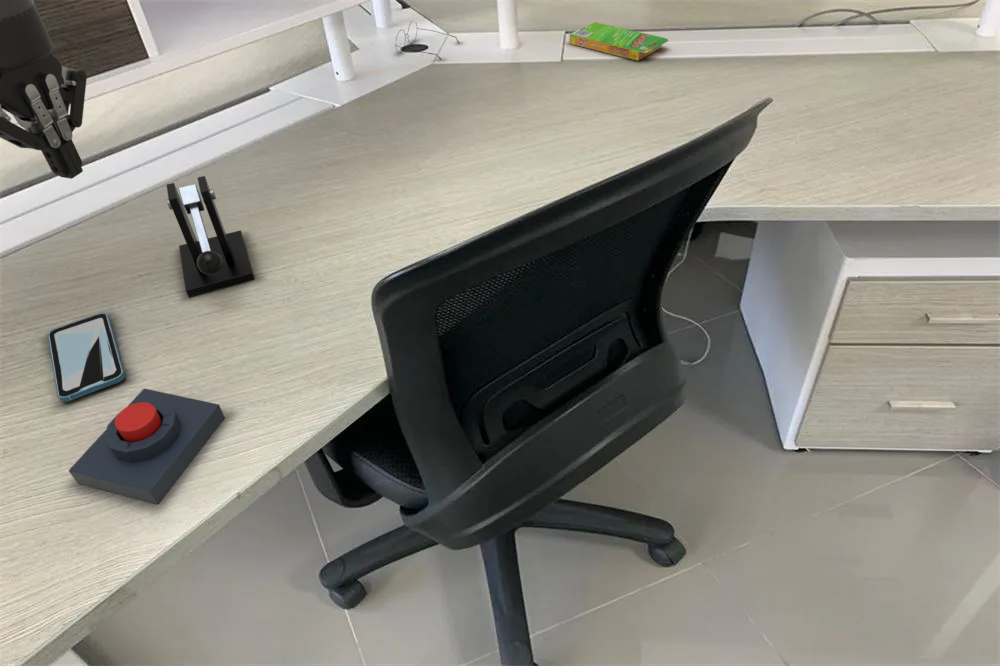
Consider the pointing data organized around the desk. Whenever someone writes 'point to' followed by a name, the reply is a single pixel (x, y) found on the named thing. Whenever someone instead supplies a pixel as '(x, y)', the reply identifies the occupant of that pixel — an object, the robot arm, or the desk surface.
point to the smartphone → (85, 357)
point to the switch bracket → (224, 244)
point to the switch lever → (200, 231)
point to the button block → (149, 449)
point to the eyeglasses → (415, 38)
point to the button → (138, 422)
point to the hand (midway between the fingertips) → (71, 174)
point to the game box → (616, 40)
